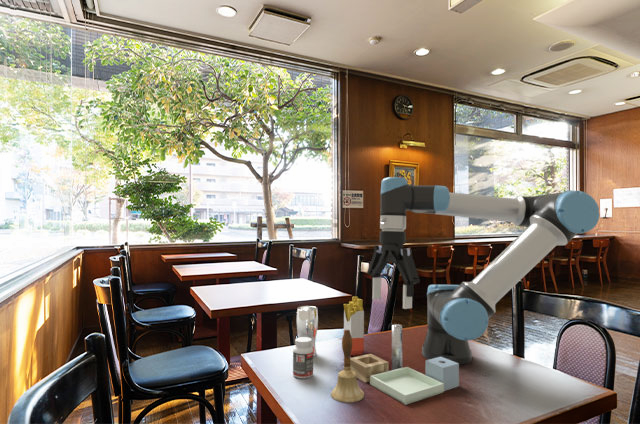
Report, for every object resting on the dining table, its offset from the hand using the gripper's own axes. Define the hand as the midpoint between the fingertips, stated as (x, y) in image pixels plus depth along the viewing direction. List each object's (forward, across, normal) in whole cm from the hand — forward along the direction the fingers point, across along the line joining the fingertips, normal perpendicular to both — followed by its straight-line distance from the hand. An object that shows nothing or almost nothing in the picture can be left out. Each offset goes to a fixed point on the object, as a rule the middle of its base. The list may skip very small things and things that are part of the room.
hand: (391, 303), depth 110 cm
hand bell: (+20, +7, -19) cm, 29 cm away
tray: (+19, +11, -4) cm, 23 cm away
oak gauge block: (+20, -1, -7) cm, 21 cm away
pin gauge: (+19, +1, +2) cm, 19 cm away
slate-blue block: (+19, +14, +6) cm, 25 cm away
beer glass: (+20, -24, -15) cm, 34 cm away
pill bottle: (+20, -9, -23) cm, 32 cm away
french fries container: (+20, -18, 0) cm, 27 cm away
